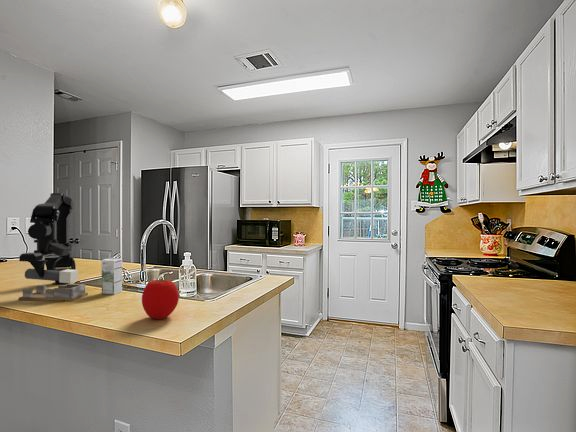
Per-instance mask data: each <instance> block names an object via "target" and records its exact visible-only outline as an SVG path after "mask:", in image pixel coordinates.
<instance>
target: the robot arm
mask: <svg viewBox="0 0 576 432" xmlns="http://www.w3.org/2000/svg"><path fill="white" fill-rule="evenodd" d="M73 201H74V200H73V199H72V198H71V197H69V196H67V195H66V194H65V193H61V192H52V193H50V196H49V197H48V199H46V201H45V202H44V203H38V204H37V205H35V207H34V208H33V209H32V212H31V216H30V220H29V222H30V223H31V224H32V223H33V224H32V225H30V226H29V227H28V230H27V234H28V236H29V237H30V238H32V239H33V243H36V250H35V249H34V250H33V252H24V253H21V254H20V255H19V256H18V257H19V262H28V263H30V265H31V266H32V268H33V269H35V270H36V272H37V273H38V275H39V277H43V276H44V270H56V271H63V270H66V269H72V270H77V267H76V261H75V259H74V257H73V253H72V248H73V247H72V246H73V245H72V243H71V242H69V217H70V216H71V215H72V213H73V210H74V202H73ZM55 223H56V225H55ZM51 284H52V285H67V284H69V283H60V282H59V281H54V282H52V283H51Z"/></svg>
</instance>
